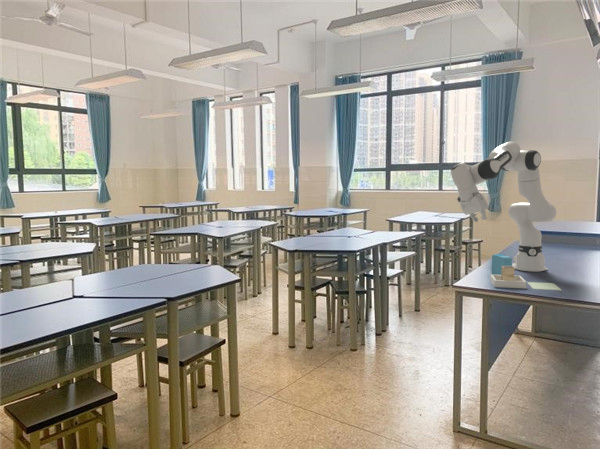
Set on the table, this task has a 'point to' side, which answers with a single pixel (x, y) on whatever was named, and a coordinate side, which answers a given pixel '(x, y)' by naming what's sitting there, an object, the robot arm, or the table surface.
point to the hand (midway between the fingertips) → (480, 220)
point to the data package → (500, 263)
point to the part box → (507, 273)
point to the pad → (544, 286)
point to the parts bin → (508, 282)
